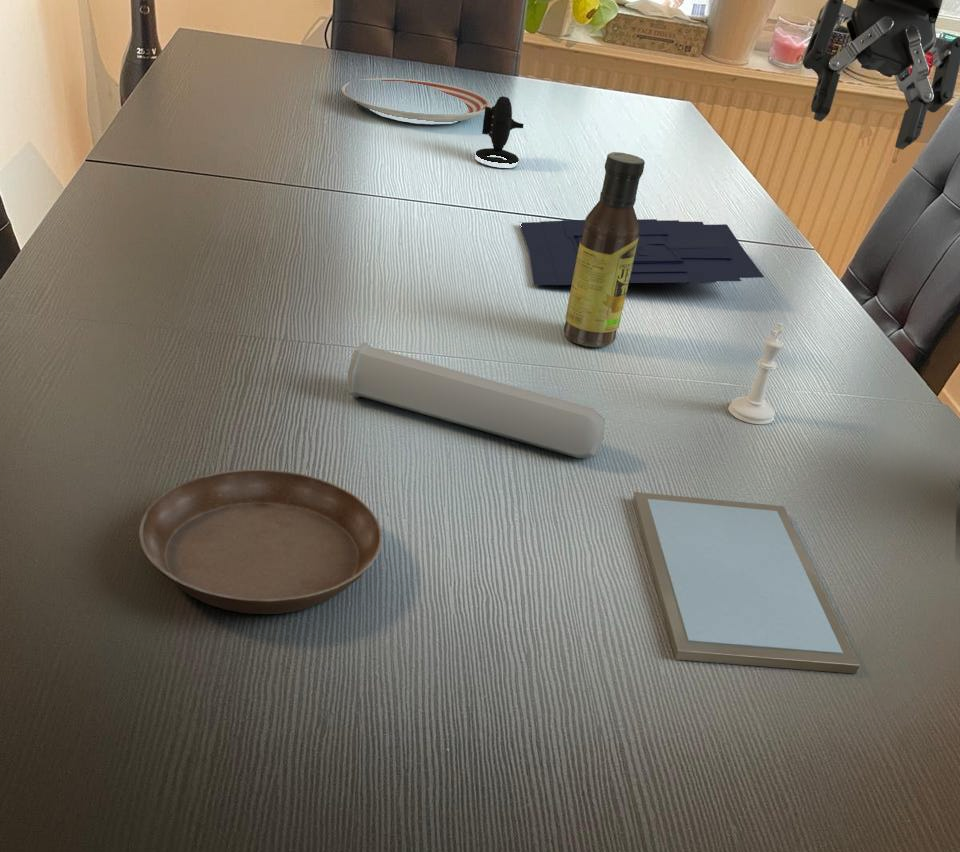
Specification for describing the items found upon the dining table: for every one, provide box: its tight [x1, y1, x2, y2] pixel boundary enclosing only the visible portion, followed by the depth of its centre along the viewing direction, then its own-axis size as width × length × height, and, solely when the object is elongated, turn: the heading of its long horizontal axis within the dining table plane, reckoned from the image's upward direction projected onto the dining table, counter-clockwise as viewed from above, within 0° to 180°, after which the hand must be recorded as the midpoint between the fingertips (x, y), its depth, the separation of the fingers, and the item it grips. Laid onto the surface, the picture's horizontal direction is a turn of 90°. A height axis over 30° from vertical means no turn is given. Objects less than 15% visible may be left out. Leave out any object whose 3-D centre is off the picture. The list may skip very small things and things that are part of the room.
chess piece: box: [727, 322, 786, 425], centre depth 106 cm, size 5×5×10 cm
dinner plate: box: [341, 77, 492, 122], centre depth 189 cm, size 27×27×3 cm
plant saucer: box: [138, 468, 383, 615], centre depth 77 cm, size 18×18×3 cm
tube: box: [346, 342, 605, 460], centre depth 97 cm, size 5×5×25 cm
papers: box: [519, 218, 765, 286], centre depth 139 cm, size 24×30×4 cm
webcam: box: [475, 96, 524, 164], centre depth 168 cm, size 8×8×10 cm
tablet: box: [632, 491, 860, 675], centre depth 84 cm, size 14×22×1 cm, turn 2°
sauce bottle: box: [563, 151, 646, 348], centre depth 113 cm, size 6×6×20 cm
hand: (862, 131), depth 97 cm, fingers open, 8 cm apart
